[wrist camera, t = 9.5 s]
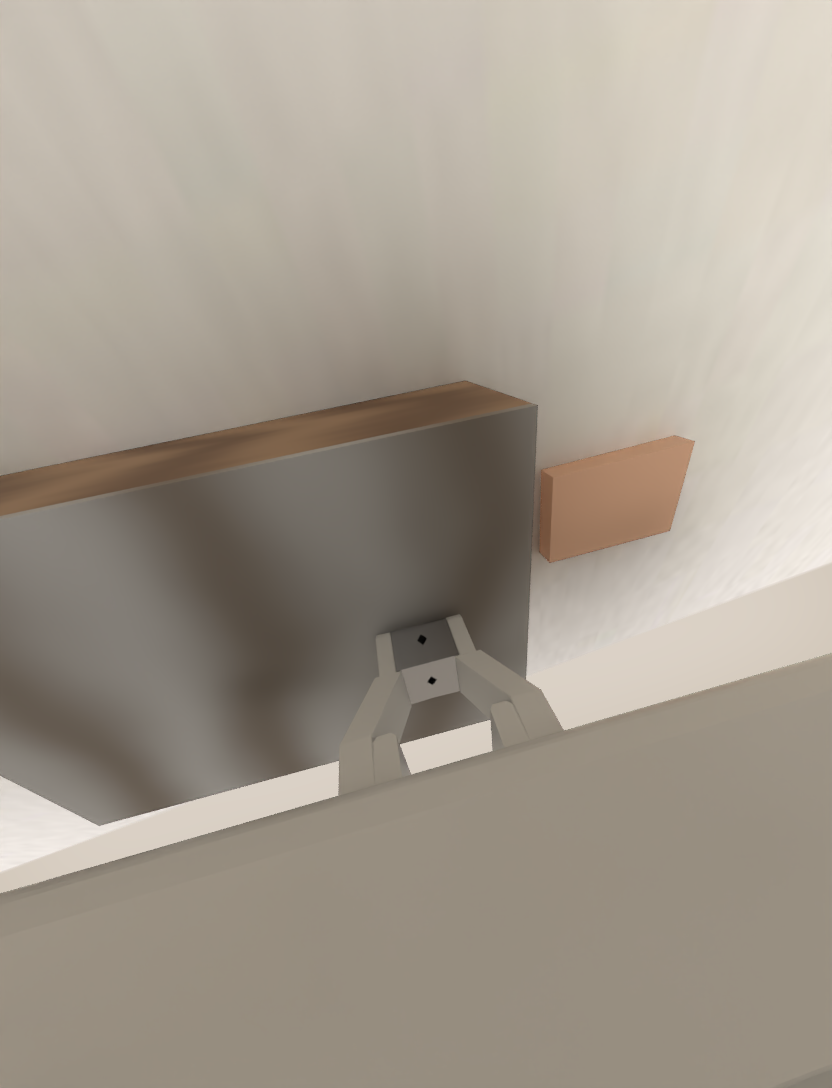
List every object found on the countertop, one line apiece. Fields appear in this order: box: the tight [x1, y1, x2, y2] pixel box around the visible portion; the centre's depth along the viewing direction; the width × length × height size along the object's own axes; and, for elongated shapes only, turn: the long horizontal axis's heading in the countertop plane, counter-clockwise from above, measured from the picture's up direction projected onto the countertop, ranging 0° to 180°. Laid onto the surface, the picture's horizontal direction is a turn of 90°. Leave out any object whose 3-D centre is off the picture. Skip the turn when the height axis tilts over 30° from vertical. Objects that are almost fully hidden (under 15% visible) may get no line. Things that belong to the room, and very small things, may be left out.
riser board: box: [0, 381, 538, 826], centre depth 14 cm, size 20×14×6 cm
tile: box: [539, 436, 695, 563], centre depth 17 cm, size 7×5×2 cm
